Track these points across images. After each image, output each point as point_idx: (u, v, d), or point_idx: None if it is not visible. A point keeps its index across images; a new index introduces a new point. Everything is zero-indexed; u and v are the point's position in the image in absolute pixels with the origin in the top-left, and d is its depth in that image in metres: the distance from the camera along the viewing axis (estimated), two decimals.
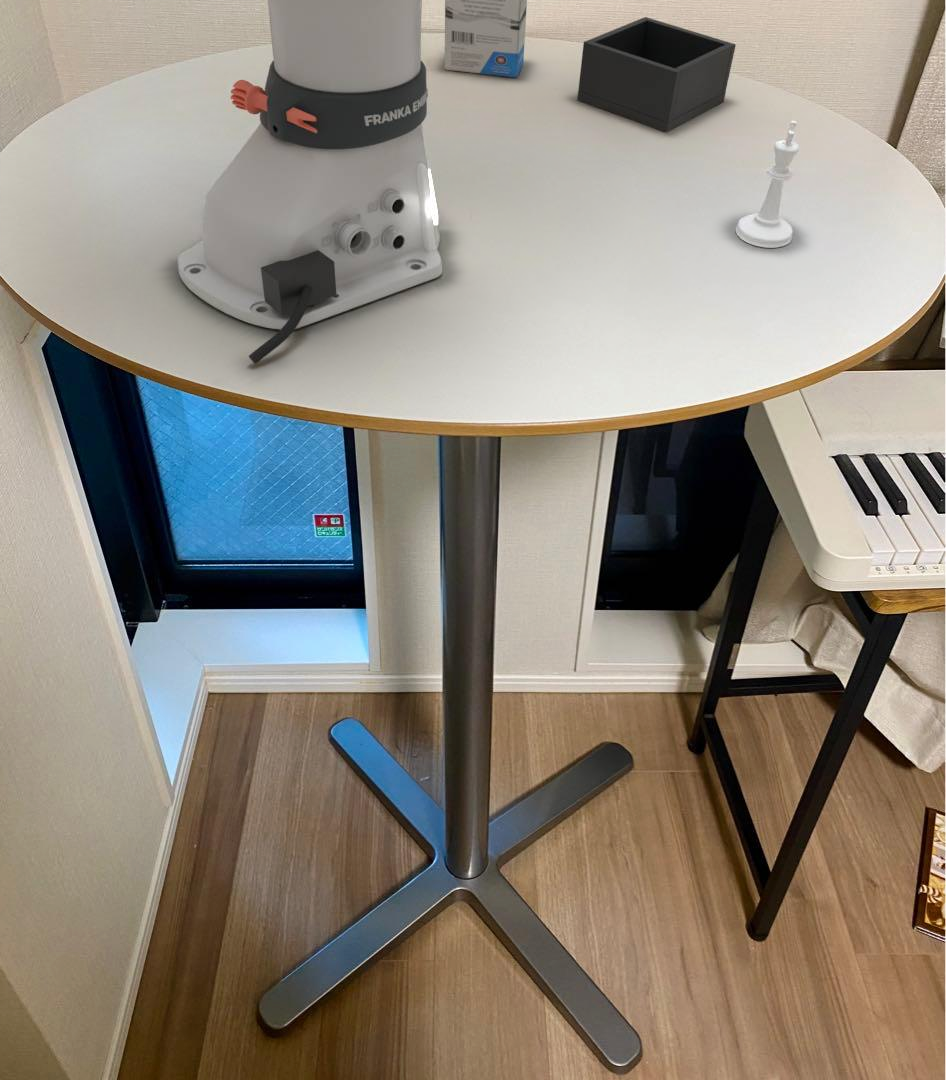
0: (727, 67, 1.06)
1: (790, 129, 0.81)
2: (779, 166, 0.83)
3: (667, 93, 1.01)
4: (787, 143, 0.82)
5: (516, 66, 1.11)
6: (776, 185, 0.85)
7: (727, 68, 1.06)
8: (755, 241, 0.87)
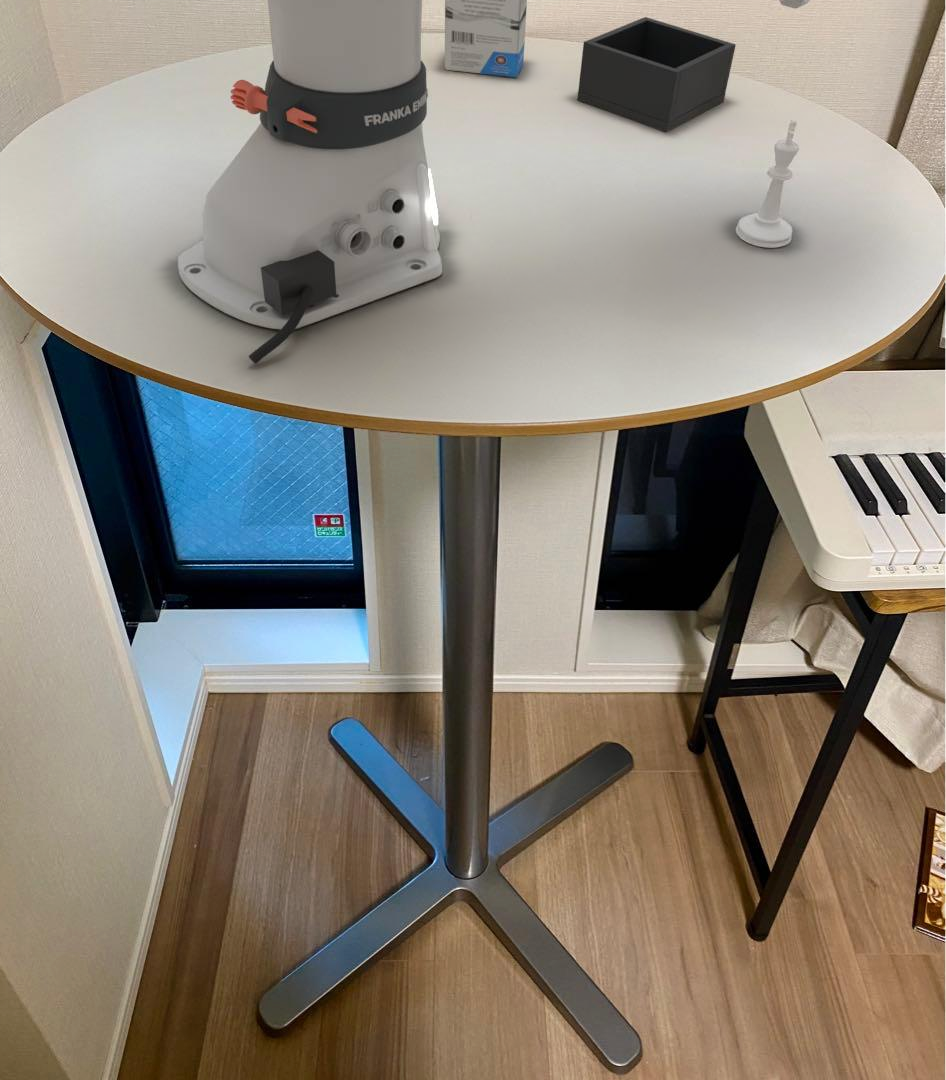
0: (727, 67, 1.06)
1: (790, 129, 0.81)
2: (779, 166, 0.83)
3: (667, 93, 1.01)
4: (787, 143, 0.82)
5: (516, 66, 1.11)
6: (776, 185, 0.85)
7: (727, 68, 1.06)
8: (755, 241, 0.87)
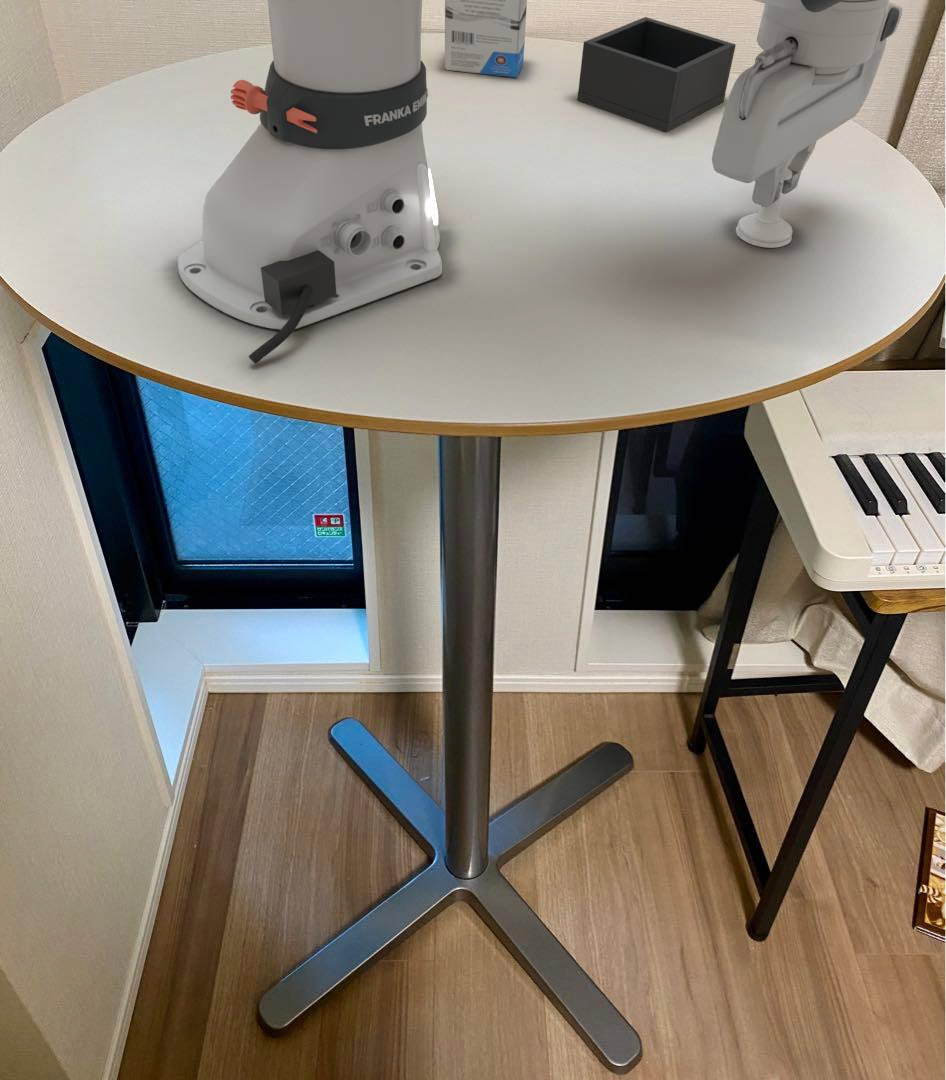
0: (727, 67, 1.06)
1: None
2: None
3: (667, 93, 1.01)
4: None
5: (516, 66, 1.11)
6: None
7: (727, 68, 1.06)
8: (755, 241, 0.87)
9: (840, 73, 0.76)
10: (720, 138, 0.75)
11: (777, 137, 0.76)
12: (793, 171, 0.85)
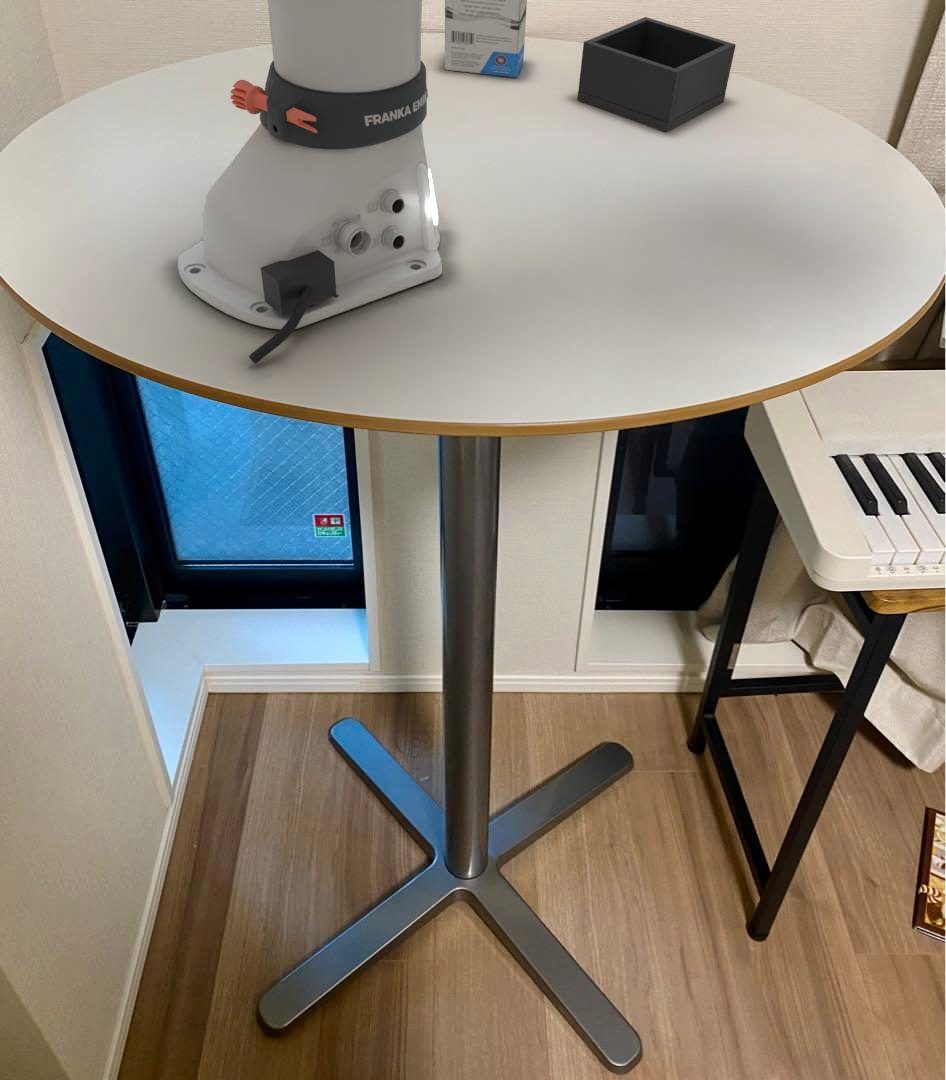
0: (727, 67, 1.06)
1: None
2: None
3: (667, 93, 1.01)
4: None
5: (516, 66, 1.11)
6: None
7: (727, 68, 1.06)
8: None
9: None
10: None
11: None
12: None
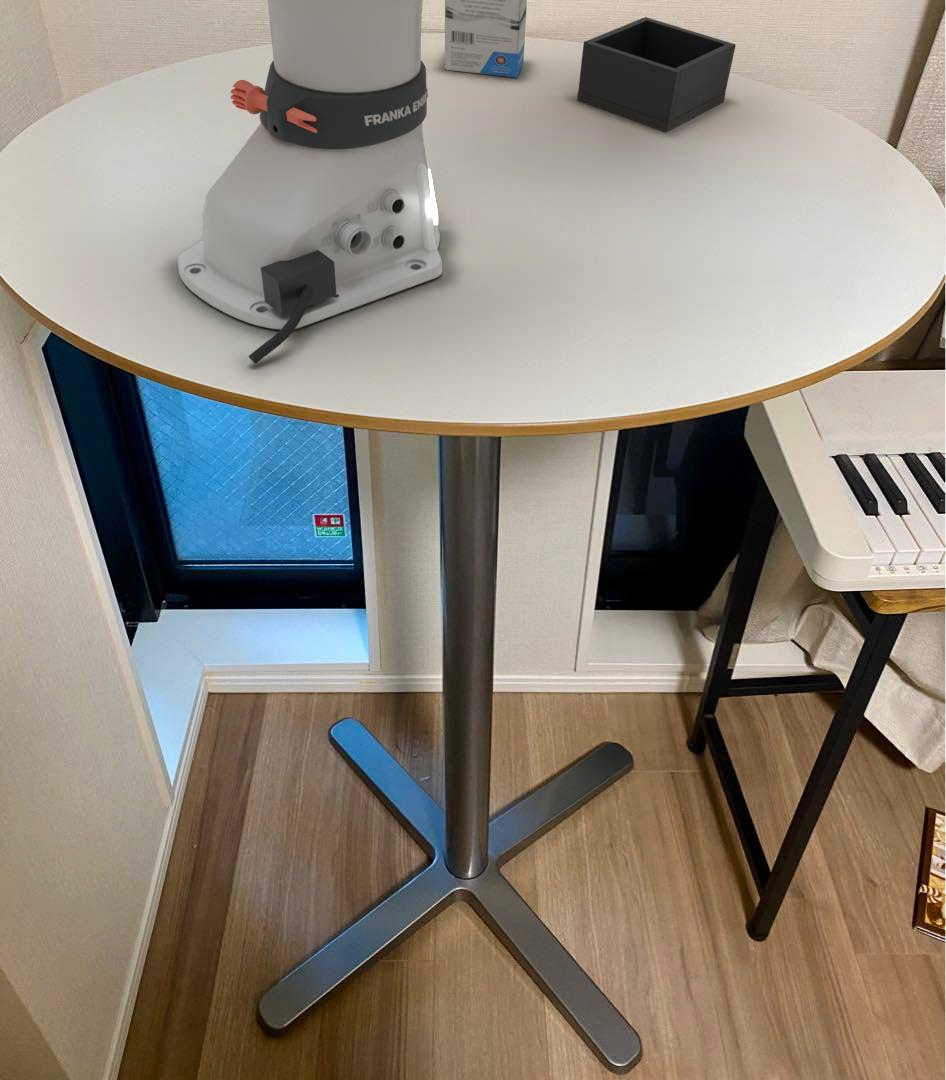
0: (727, 67, 1.06)
1: None
2: None
3: (667, 93, 1.01)
4: None
5: (516, 66, 1.11)
6: None
7: (727, 68, 1.06)
8: None
9: None
10: None
11: None
12: None
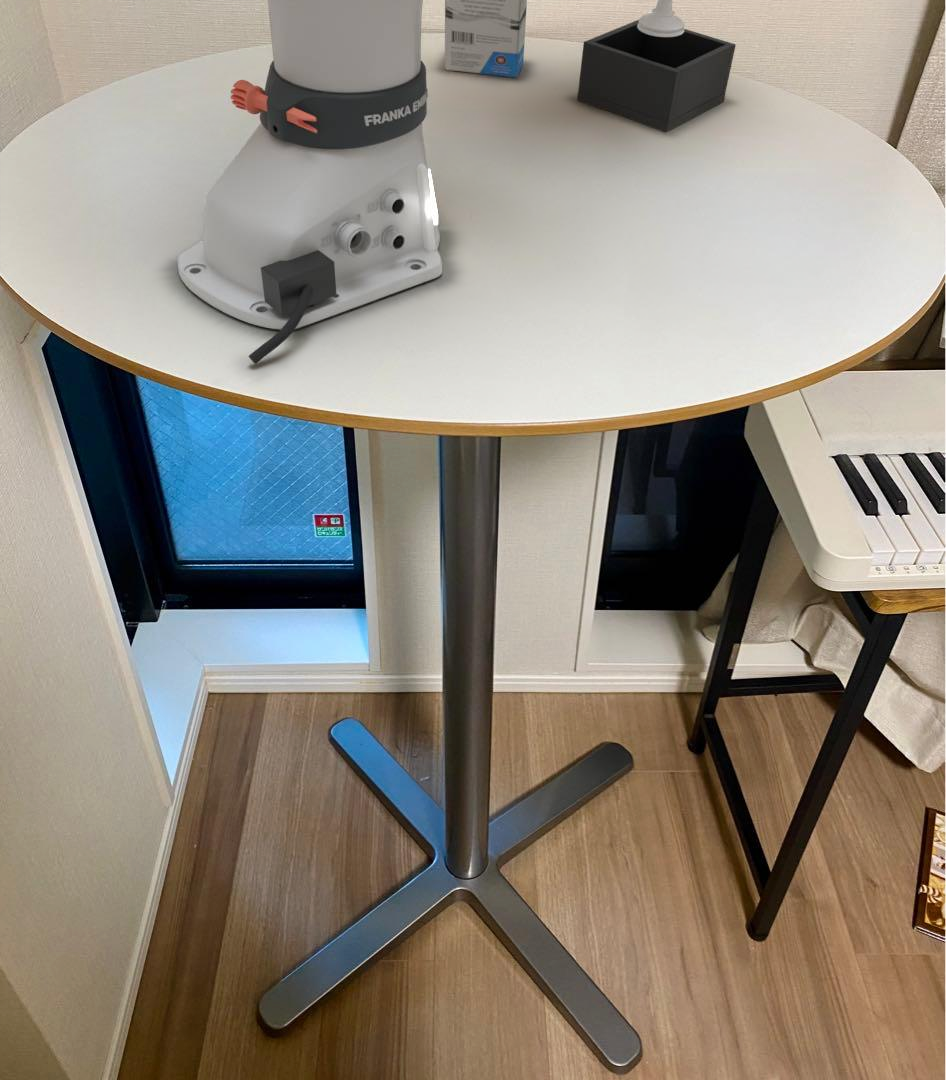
0: (727, 67, 1.06)
1: None
2: None
3: (667, 93, 1.01)
4: None
5: (516, 66, 1.11)
6: None
7: (727, 68, 1.06)
8: (652, 31, 1.02)
9: None
10: None
11: None
12: None
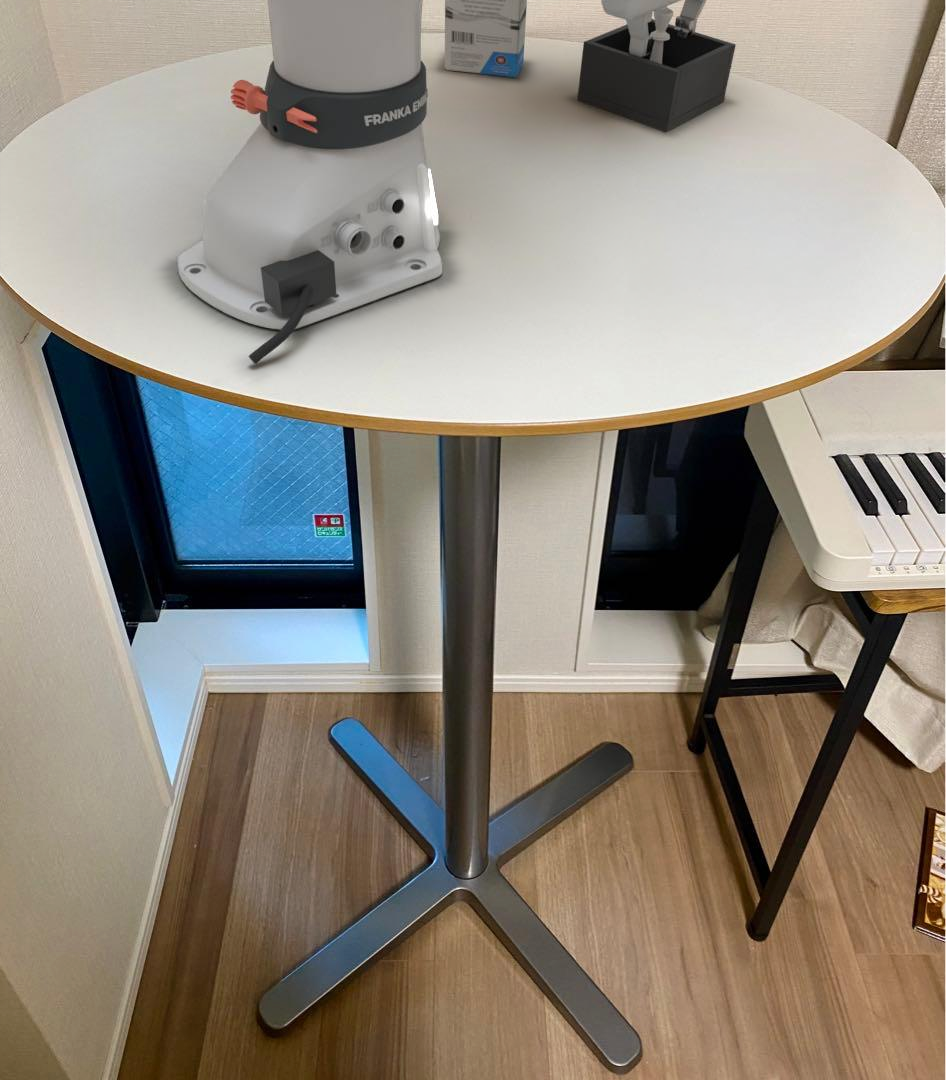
0: (727, 67, 1.06)
1: None
2: (658, 29, 1.03)
3: (667, 93, 1.01)
4: (663, 9, 1.02)
5: (516, 66, 1.11)
6: (657, 46, 1.04)
7: (727, 68, 1.06)
8: None
9: None
10: None
11: None
12: (690, 18, 1.05)
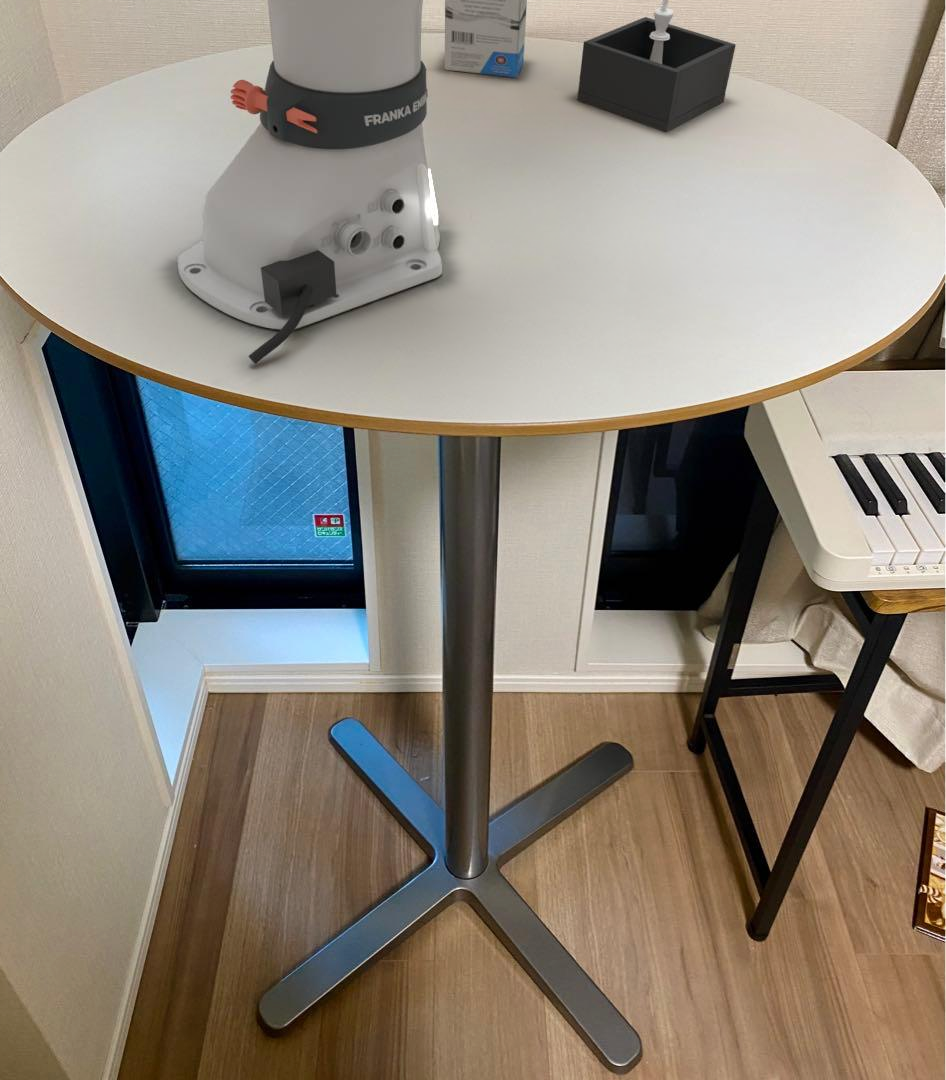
0: (727, 67, 1.06)
1: None
2: (658, 29, 1.03)
3: (667, 93, 1.01)
4: (663, 9, 1.02)
5: (516, 66, 1.11)
6: (657, 46, 1.04)
7: (727, 68, 1.06)
8: None
9: None
10: None
11: None
12: None
